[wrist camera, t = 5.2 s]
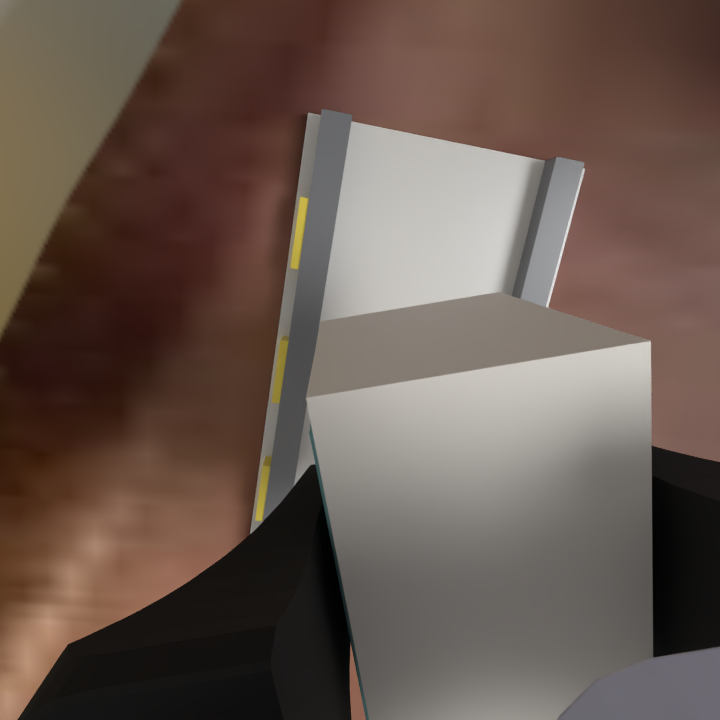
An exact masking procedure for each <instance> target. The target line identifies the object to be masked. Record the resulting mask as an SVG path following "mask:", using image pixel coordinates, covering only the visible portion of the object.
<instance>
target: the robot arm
mask: <svg viewBox="0 0 720 720" xmlns="http://www.w3.org/2000/svg"><path fill="white" fill-rule="evenodd" d="M652 573H653V658H648V659H646V660H643V661H640V662H638V663H635V664H633V665H630V666H627V667H625V668H622V669H620V670H617V671H615V672H612V673H609V674H607V675H604V676H602V677H599V678H597V679H595V680H594V681H593V682H592V683H591V684H590V685H589V686H588V687H587V688H586V689H585V690H584V691H583V692H582V693H581V694H580V695H579V696H578V697H577V698H576V699H575V700H574V701H573V702H572V703H571V704H570V705H569V706H568V707H567V708H566V709H565V710H564V711H563V712H562V713H561V714H560V716H559V717H558V719H557V720H720V462H716V461H712V460H707V459H702V458H698V457H694V456H689V455H685V454H681V453H677V452H673V451H669V450H665V449H661V448H658V447H654V446H652ZM349 666H350V636H349V631H348V626H347V621H346V616H345V611H344V606H343V601H342V596H341V591H340V586H339V581H338V576H337V571H336V565H335V560H334V555H333V550H332V545H331V540H330V535H329V530H328V525H327V520H326V515H325V510H324V505H323V500H322V495H321V490H320V485H319V480H318V475H317V470H316V465H315V464H313V465H310V466H309V467H308V469H307V470H306V471H305V472H304V474H303V475H302V476H301V478H300V479H299V480H298V481H297V483H296V484H295V485H294V487H293V488H292V489H291V490H290V492H289V493H288V494H287V495H286V497H285V498H284V499H283V500H282V502H281V503H280V504H279V505H278V506H277V507H276V508H275V509H274V510H273V511H272V512H271V514H270V515H269V516H268V517H267V518H266V519H265V520H264V521H263V522H262V523H261V524H260V525H259V526H258V527H257V528H256V529H255V530H254V531H253V532H252V533H251V534H250V535H249V536H248V537H247V538H246V539H245V540H243V541H242V542H241V543H240V544H239V545H237V546H236V547H235V548H234V549H233V550H232V551H230V552H229V553H228V554H227V555H225V556H224V557H223V558H222V559H220V560H219V561H217V562H216V563H215V564H213V565H212V566H210V567H209V568H207V569H206V570H205V571H203V572H202V573H200V574H199V575H198V576H196V577H195V578H193V579H192V580H191V581H189V582H188V583H186V584H184V585H183V586H181V587H180V588H178V589H176V590H175V591H173V592H171V593H170V594H168V595H166V596H165V597H163V598H161V599H159V600H158V601H156V602H154V603H152V604H151V605H149V606H147V607H145V608H143V609H142V610H140V611H138V612H136V613H134V614H132V615H130V616H128V617H126V618H124V619H122V620H120V621H118V622H115V623H113V624H111V625H109V626H107V627H105V628H103V629H101V630H99V631H96V632H94V633H92V634H90V635H88V636H86V637H84V638H82V639H79V640H77V641H75V642H72V643H70V644H68V645H67V647H66V648H65V650H64V651H63V652H62V654H61V655H60V657H59V658H58V660H57V661H56V663H55V664H54V666H53V667H52V669H51V670H50V672H49V673H48V675H47V676H46V678H45V679H44V681H43V682H42V684H41V685H40V687H39V688H38V690H37V691H36V693H35V694H34V696H33V697H32V699H31V700H30V702H29V703H28V705H27V706H26V708H25V709H24V711H23V712H22V714H21V715H20V717H19V718H18V720H351V706H350V672H349Z"/></svg>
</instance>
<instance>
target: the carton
mask: <svg viewBox="0 0 720 720" xmlns="http://www.w3.org/2000/svg"><path fill="white" fill-rule="evenodd" d="M306 401H307V406H308V412H309V417H310V422H311V424H310V431H309V435H310V440H311V445H312V450H313V455H314V460H315V465H316V470H317V475H318V480H319V485H320V490H321V495H322V500H323V505H324V510H325V515H326V520H327V525H328V530H329V535H330V540H331V545H332V550H333V555H334V560H335V565H336V571H337V576H338V581H339V586H340V591H341V596H342V601H343V606H344V611H345V616H346V621H347V626H348V631H349V636H350V641H351V646H352V651H353V656H354V661H355V666H356V671H357V676H358V681H359V686H360V691H361V696H362V701H363V707H364V712H365V717H366V720H557V719H558V717H559V716H560V714H561V713H562V712H563V711H564V710H565V709H566V708H567V707H568V706H569V705H570V704H571V703H572V702H573V701H574V700H575V699H576V698H577V697H578V696H579V695H580V694H581V693H582V692H583V691H584V690H585V689H586V688H587V687H588V686H589V685H590V684H591V683H592V682H593V681H594V680H595V679H597V678H599V677H602V676H604V675H607V674H609V673H612V672H615V671H617V670H620V669H622V668H625V667H627V666H630V665H633V664H635V663H638V662H640V661H643V660H646V659H648V658H653V573H652V437H651V341H650V340H647V339H643V338H640V337H637V336H634V335H631V334H628V333H625V332H622V331H619V330H615V329H612V328H609V327H606V326H603V325H600V324H597V323H594V322H591V321H587V320H584V319H581V318H578V317H575V316H572V315H569V314H566V313H563V312H560V311H556V310H553V309H550V308H547V307H544V306H541V305H538V304H535V303H532V302H528V301H525V300H522V299H519V298H516V297H513V296H510V295H507V294H504V293H500V292H496V293H489V294H483V295H477V296H471V297H465V298H459V299H453V300H447V301H441V302H435V303H429V304H423V305H417V306H410V307H404V308H398V309H392V310H386V311H380V312H374V313H368V314H362V315H356V316H350V317H344V318H338V319H331V320H325V321H321V324H320V329H319V334H318V339H317V344H316V349H315V354H314V359H313V364H312V369H311V374H310V379H309V384H308V390H307V395H306Z"/></svg>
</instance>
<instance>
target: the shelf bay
mask: <svg viewBox="0 0 720 720" xmlns="http://www.w3.org/2000/svg"><path fill="white" fill-rule="evenodd" d="M583 166H584V162H580V161H575V160H571V159H566V158H561V157H554V158H552V159H549V160H546V161H543V160H539V159H534V158H529V157H524V156H519V155H514V154H509V153H504V152H499V151H494V150H489V149H484V148H480V147H475V146H470V145H465V144H460V143H455V142H450V141H445V140H440V139H435V138H430V137H425V136H421V135H416V134H411V133H406V132H401V131H396V130H391V129H386V128H381V127H376V126H371V125H366V124H362V123H357V122H352V115H351V114H346V113H341V112H336V111H331V110H326V109H322V111H321V115H317V114H312V113H308V117H307V125H306V132H305V139H304V146H303V154H302V161H301V168H300V175H299V183H298V190H297V197H296V204H295V212H294V219H293V226H292V233H291V241H290V248H289V255H288V262H287V270H286V277H285V284H284V291H283V299H282V306H281V313H280V320H279V328H278V335H277V342H276V349H275V357H274V364H273V371H272V378H271V386H270V393H269V400H268V407H267V415H266V422H265V429H264V436H263V444H262V451H261V458H260V465H259V473H258V480H257V487H256V494H255V502H254V509H253V516H252V523H251V531H250V534H251V533H252V532H253V531H254V530H255V529H256V528H257V527H258V526H259V525H260V524H261V523H262V522H263V521H264V520H265V519H266V518H267V517H268V516H269V515H270V514H271V512H272V511H273V510H274V509H275V508H276V507H277V506H278V505H279V504H280V503H281V502H282V500H283V499H284V498H285V497H286V495H287V494H288V493H289V492H290V490H291V489H292V488H293V487H294V485H295V484H296V483H297V481H298V480H299V479H300V478H301V476H302V475H303V474H304V472H305V471H306V470H307V469H308V467H309V466H310V465H313V464H315V460H314V455H313V450H312V445H311V440H310V435H309V431H310V424H311V422H310V417H309V412H308V406H307V401H306V395H307V390H308V384H309V379H310V374H311V369H312V364H313V359H314V354H315V349H316V344H317V339H318V334H319V329H320V324H321V321H325V320H331V319H338V318H344V317H350V316H356V315H362V314H368V313H374V312H380V311H386V310H392V309H398V308H404V307H410V306H417V305H423V304H429V303H435V302H441V301H447V300H453V299H459V298H465V297H471V296H477V295H483V294H489V293H496V292H500V293H504V294H507V295H510V296H513V297H516V298H519V299H522V300H525V301H528V302H532V303H535V304H538V305H541V306H544V307H547V308H548V305H549V302H550V298H551V294H552V290H553V287H554V283H555V279H556V275H557V272H558V268H559V264H560V261H561V257H562V253H563V249H564V246H565V242H566V238H567V235H568V231H569V227H570V223H571V220H572V216H573V212H574V208H575V205H576V201H577V197H578V194H579V190H580V186H581V182H582V179H583V175H584V171H585V169H583Z"/></svg>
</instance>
